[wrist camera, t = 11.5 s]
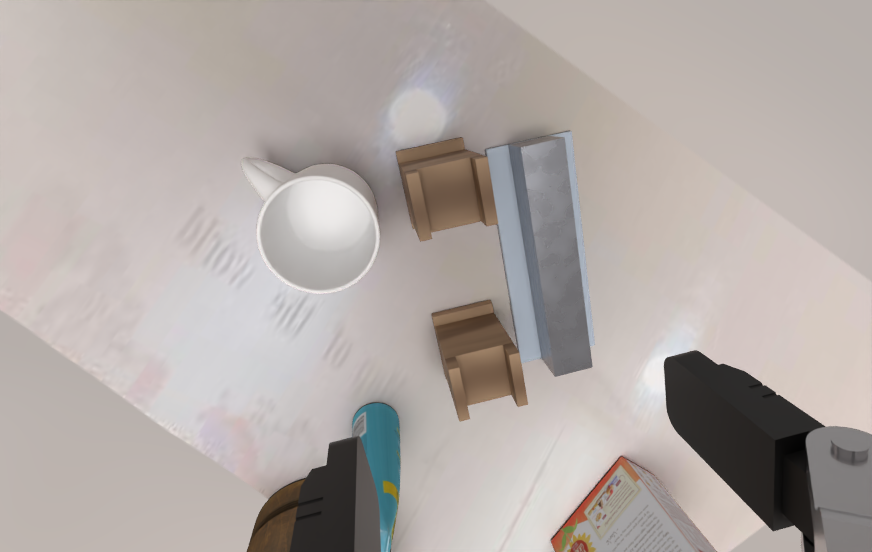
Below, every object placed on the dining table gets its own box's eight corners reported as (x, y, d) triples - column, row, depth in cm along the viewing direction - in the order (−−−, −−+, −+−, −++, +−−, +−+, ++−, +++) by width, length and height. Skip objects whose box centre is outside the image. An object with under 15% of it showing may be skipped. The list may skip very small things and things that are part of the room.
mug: (290, 114, 43) (266, 112, 33) (396, 206, 47) (404, 230, 36) (228, 190, 44) (187, 211, 34) (337, 274, 48) (328, 316, 38)
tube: (397, 450, 55) (412, 618, 36) (352, 452, 54) (344, 623, 36) (400, 389, 52) (417, 534, 34) (352, 390, 52) (344, 538, 33)
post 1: (395, 151, 45) (402, 160, 36) (460, 137, 45) (485, 142, 36) (412, 226, 47) (423, 254, 38) (474, 212, 48) (500, 236, 38)
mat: (484, 149, 46) (486, 149, 46) (569, 131, 47) (571, 131, 46) (519, 360, 53) (521, 363, 53) (592, 342, 54) (594, 345, 53)
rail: (508, 144, 46) (520, 147, 42) (548, 135, 46) (564, 137, 42) (541, 358, 53) (554, 376, 49) (576, 349, 53) (592, 367, 49)
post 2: (431, 313, 50) (446, 359, 41) (489, 299, 51) (517, 341, 41) (444, 374, 52) (461, 431, 43) (500, 360, 53) (529, 414, 43)
